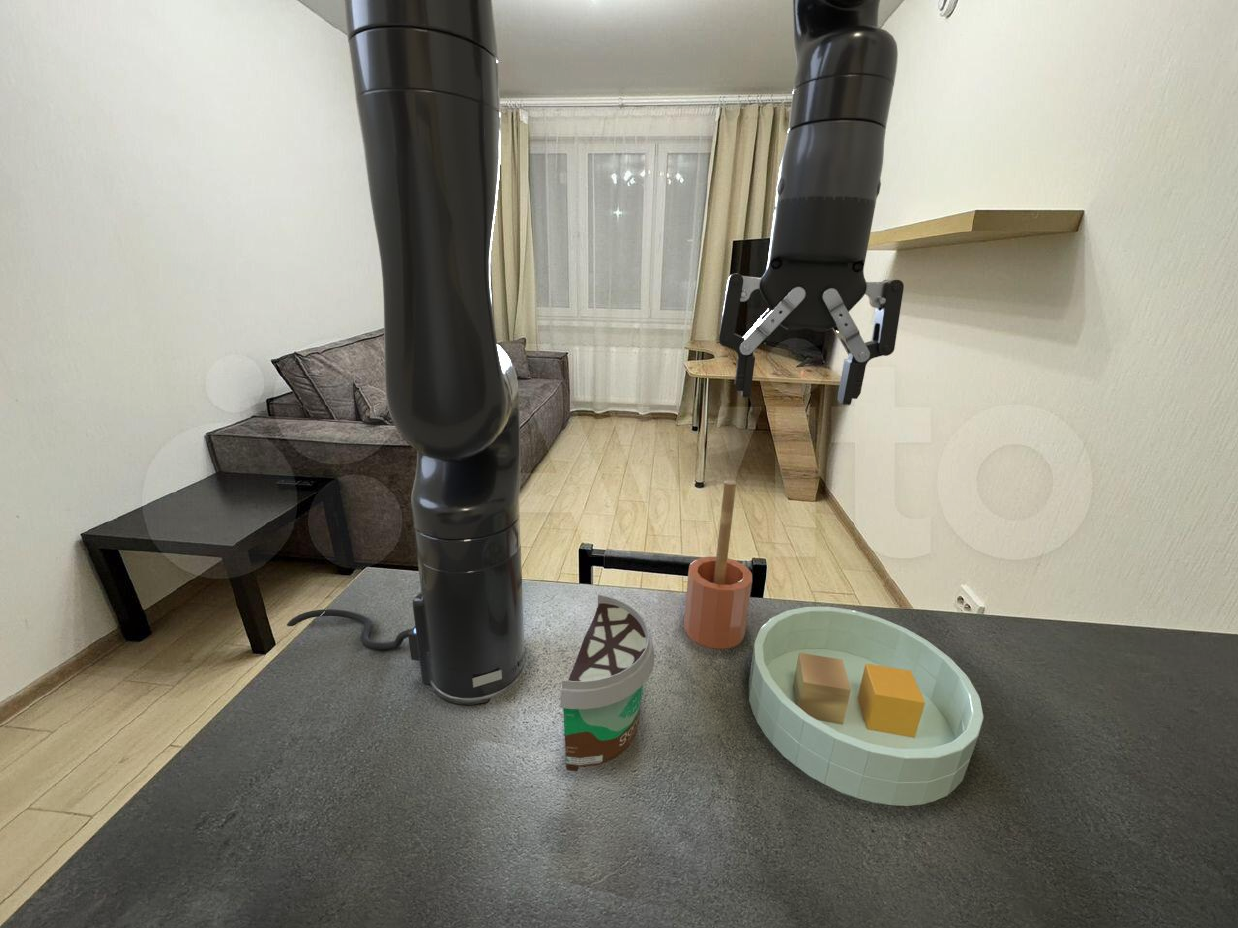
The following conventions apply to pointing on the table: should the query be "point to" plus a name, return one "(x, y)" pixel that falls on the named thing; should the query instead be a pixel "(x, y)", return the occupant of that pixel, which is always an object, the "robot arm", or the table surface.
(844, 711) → the pine block
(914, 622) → the table surface
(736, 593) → the cup
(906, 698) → the mustard block
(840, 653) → the bowl
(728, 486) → the stirring stick
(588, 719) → the food container
